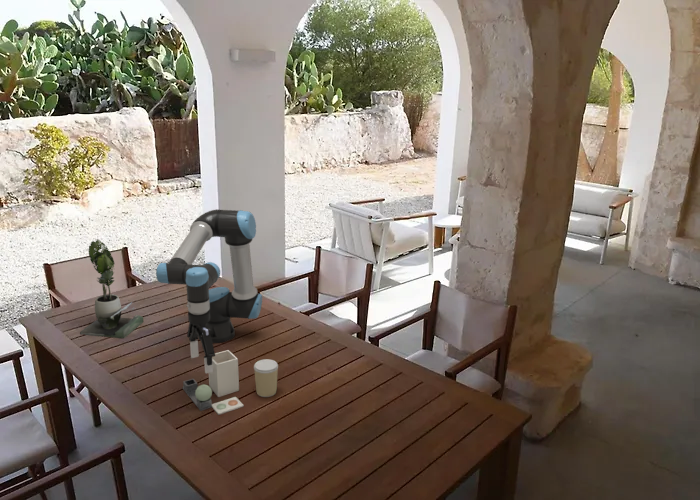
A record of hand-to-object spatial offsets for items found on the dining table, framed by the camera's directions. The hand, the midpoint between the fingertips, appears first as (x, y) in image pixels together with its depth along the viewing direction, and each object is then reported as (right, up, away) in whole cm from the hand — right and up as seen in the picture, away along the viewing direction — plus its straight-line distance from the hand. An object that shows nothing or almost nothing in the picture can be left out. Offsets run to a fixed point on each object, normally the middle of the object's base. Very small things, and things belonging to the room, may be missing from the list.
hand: (201, 364), depth 209 cm
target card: (+8, -17, +6) cm, 20 cm away
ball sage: (0, -14, +5) cm, 15 cm away
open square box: (+4, -13, +17) cm, 22 cm away
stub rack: (-5, -15, +11) cm, 19 cm away
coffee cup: (+21, -14, +16) cm, 30 cm away
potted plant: (-60, +4, +66) cm, 90 cm away
